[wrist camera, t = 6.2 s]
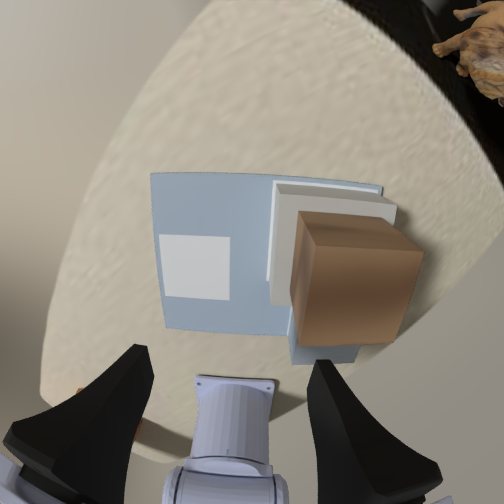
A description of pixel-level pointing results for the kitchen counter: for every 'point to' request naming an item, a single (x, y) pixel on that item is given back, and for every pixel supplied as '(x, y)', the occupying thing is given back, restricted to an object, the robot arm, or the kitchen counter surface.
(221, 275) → the mat
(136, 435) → the whiskey bottle
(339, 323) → the walnut block
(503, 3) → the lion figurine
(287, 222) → the base block
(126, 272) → the kitchen counter surface
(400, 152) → the kitchen counter surface
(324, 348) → the slate block
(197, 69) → the kitchen counter surface
